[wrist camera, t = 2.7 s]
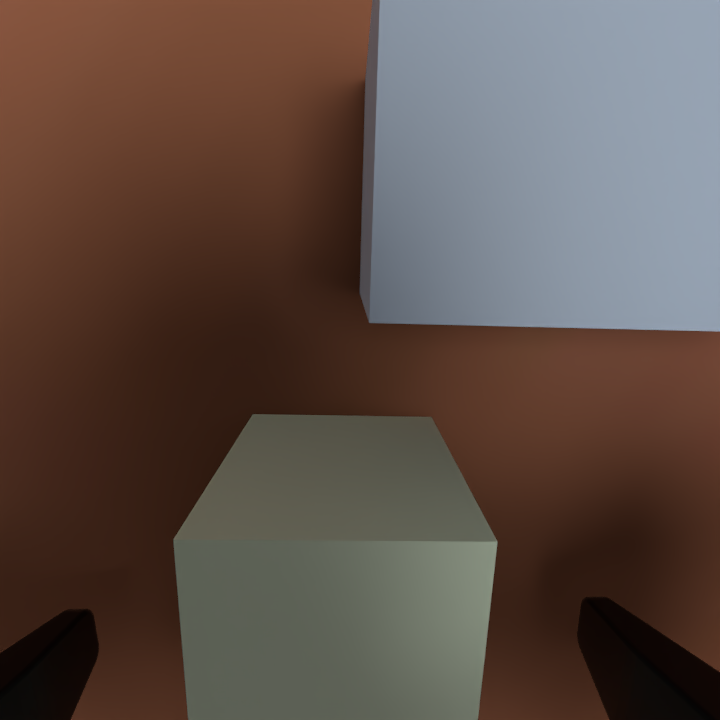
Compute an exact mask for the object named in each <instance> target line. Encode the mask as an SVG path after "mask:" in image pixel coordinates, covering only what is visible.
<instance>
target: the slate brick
mask: <svg viewBox="0 0 720 720" xmlns="http://www.w3.org/2000/svg"><path fill="white" fill-rule="evenodd" d="M360 296H361V299H362V302H363V305H364V308H365V312H366V315H367V318H368V321H369V323H391V324H433V325H474V326H516V327H558V328H599V329H641V330H682V331H720V0H372V11H371V23H370V34H369V45H368V56H367V68H366V79H365V114H364V150H363V187H362V224H361V261H360Z"/></svg>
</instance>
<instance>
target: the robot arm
mask: <svg viewBox="0 0 720 720" xmlns="http://www.w3.org/2000/svg"><path fill="white" fill-rule="evenodd" d="M577 636H578V643H579V647H580V649H581V652H582V654H583V657H584V659H585V662H586V664H587V666H588V669H589V671H590V674H591V676H592V679H593V681H594V683H595V686H596V688H597V691H598V693H599V696H600V698H601V700H602V703H603V705H604V708H605V710H606V713H607V715H608V717H609V720H720V672H719V671H717V670H716V669H714V668H713V667H711V666H710V665H708V664H707V663H705V662H704V661H702V660H701V659H699V658H698V657H696V656H695V655H693V654H692V653H690V652H689V651H687V650H686V649H684V648H683V647H681V646H680V645H678V644H677V643H675V642H674V641H672V640H671V639H669V638H668V637H666V636H665V635H663V634H662V633H660V632H659V631H657V630H656V629H654V628H653V627H651V626H650V625H648V624H647V623H645V622H644V621H642V620H641V619H639V618H638V617H636V616H635V615H633V614H632V613H630V612H629V611H627V610H626V609H624V608H623V607H621V606H620V605H618V604H617V603H615V602H614V601H612V600H611V599H609V598H607V597H586V598H584V599H583V600H582V603H581V609H580V616H579V624H578V631H577ZM98 651H99V643H98V638H97V632H96V626H95V621H94V615H93V613H92V611H91V610H88V609H70V610H66V611H64V612H62V613H60V614H59V615H57V616H56V617H54V618H53V619H51V620H50V621H48V622H47V623H45V624H44V625H42V626H41V627H39V628H38V629H36V630H35V631H33V632H32V633H30V634H29V635H27V636H26V637H24V638H23V639H21V640H20V641H18V642H16V643H15V644H13V645H12V646H10V647H9V648H7V649H6V650H4V651H3V652H1V653H0V720H71V718H72V715H73V713H74V711H75V708H76V706H77V704H78V702H79V699H80V697H81V695H82V692H83V690H84V688H85V685H86V683H87V681H88V679H89V676H90V674H91V672H92V669H93V667H94V665H95V662H96V660H97V656H98Z"/></svg>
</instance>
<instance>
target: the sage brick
mask: <svg viewBox="0 0 720 720" xmlns="http://www.w3.org/2000/svg"><path fill="white" fill-rule="evenodd" d="M173 543H174V555H175V567H176V579H177V591H178V603H179V615H180V627H181V639H182V651H183V663H184V675H185V687H186V700H187V712H188V720H478V714H479V705H480V696H481V686H482V677H483V668H484V659H485V650H486V641H487V632H488V623H489V614H490V605H491V596H492V587H493V578H494V569H495V560H496V551H497V540H496V538H495V536H494V534H493V532H492V530H491V528H490V527H489V525H488V523H487V521H486V519H485V517H484V515H483V513H482V511H481V510H480V508H479V506H478V504H477V502H476V500H475V498H474V496H473V494H472V493H471V491H470V489H469V487H468V485H467V483H466V481H465V479H464V477H463V476H462V474H461V472H460V470H459V468H458V466H457V464H456V462H455V460H454V458H453V457H452V455H451V453H450V451H449V449H448V447H447V445H446V443H445V441H444V440H443V438H442V436H441V434H440V432H439V430H438V428H437V426H436V424H435V423H434V421H433V419H432V417H408V416H342V415H277V414H253V415H252V416H251V418H250V419H249V421H248V423H247V424H246V426H245V427H244V429H243V430H242V432H241V434H240V435H239V437H238V438H237V440H236V441H235V443H234V445H233V446H232V448H231V449H230V451H229V452H228V454H227V456H226V457H225V459H224V460H223V462H222V464H221V465H220V467H219V468H218V470H217V471H216V473H215V475H214V476H213V478H212V479H211V481H210V482H209V484H208V486H207V487H206V489H205V490H204V492H203V493H202V495H201V497H200V498H199V500H198V501H197V503H196V504H195V506H194V508H193V509H192V511H191V512H190V514H189V515H188V517H187V519H186V520H185V522H184V523H183V525H182V526H181V528H180V530H179V531H178V533H177V534H176V536H175V538H174V539H173Z"/></svg>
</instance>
